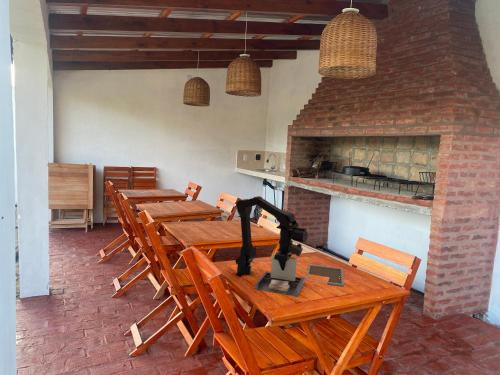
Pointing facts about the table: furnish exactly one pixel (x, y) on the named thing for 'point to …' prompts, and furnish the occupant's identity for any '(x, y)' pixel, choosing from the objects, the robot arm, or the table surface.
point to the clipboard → (327, 274)
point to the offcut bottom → (279, 288)
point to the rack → (266, 280)
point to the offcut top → (279, 283)
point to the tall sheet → (289, 269)
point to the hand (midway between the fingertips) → (283, 269)
